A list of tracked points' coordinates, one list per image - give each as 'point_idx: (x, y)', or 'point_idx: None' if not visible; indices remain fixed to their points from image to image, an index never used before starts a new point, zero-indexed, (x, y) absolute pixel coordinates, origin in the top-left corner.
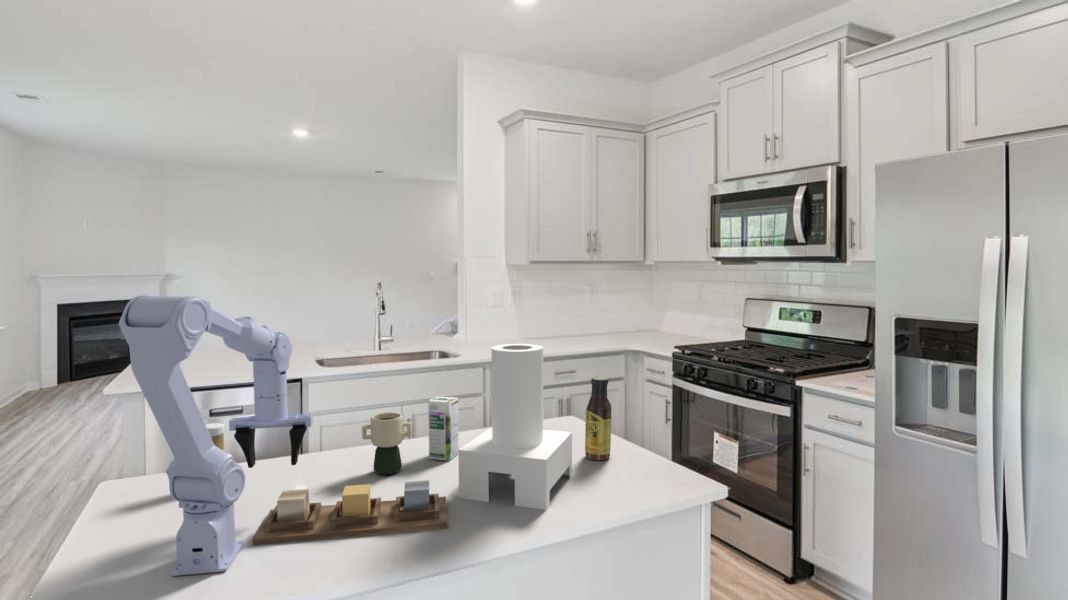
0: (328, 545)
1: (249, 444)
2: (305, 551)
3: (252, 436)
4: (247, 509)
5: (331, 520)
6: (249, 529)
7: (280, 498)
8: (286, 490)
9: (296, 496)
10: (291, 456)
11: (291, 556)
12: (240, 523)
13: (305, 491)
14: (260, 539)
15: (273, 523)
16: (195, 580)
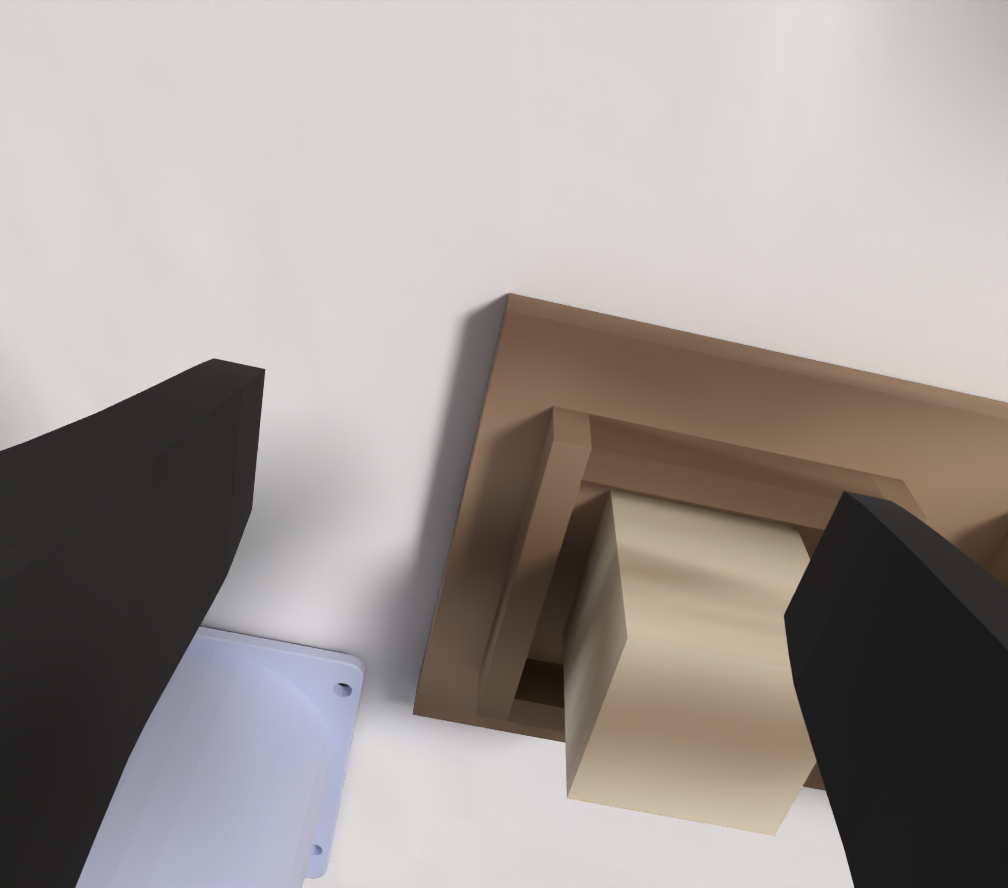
0: (815, 820)
1: (73, 849)
2: (691, 830)
3: (7, 781)
4: (289, 65)
5: None
6: (369, 482)
7: (594, 775)
8: (657, 646)
9: (725, 783)
10: (817, 749)
11: (620, 846)
12: (285, 357)
13: None
14: (459, 718)
15: (534, 716)
16: None
